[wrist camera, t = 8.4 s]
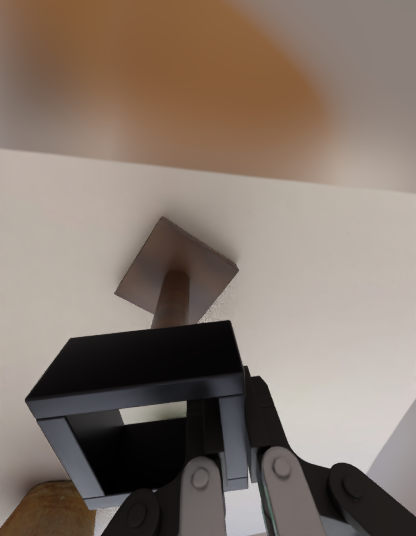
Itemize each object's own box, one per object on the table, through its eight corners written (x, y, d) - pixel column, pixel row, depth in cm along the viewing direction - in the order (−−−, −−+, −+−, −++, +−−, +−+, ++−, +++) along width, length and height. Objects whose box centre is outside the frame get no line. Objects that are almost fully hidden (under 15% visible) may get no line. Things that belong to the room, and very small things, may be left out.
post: (162, 215, 21) (135, 254, 11) (236, 264, 24) (270, 333, 13) (118, 287, 24) (63, 371, 13) (189, 324, 26) (188, 419, 16)
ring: (230, 319, 10) (245, 373, 7) (236, 421, 13) (248, 489, 10) (69, 337, 10) (22, 400, 7) (111, 437, 13) (88, 511, 10)
